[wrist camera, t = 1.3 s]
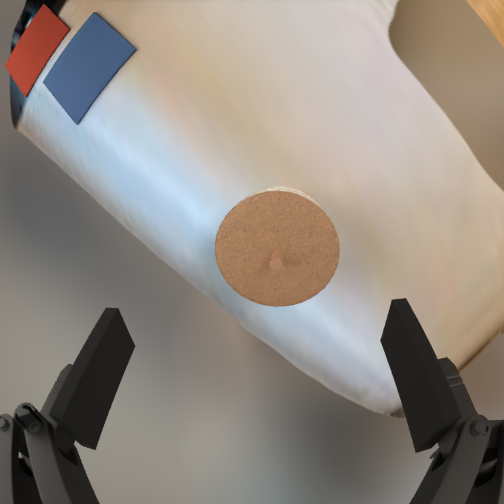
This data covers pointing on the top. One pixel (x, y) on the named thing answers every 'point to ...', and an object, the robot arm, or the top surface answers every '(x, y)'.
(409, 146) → the top surface
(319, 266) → the white bowl with cork
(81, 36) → the blue mat
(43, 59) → the red mat
